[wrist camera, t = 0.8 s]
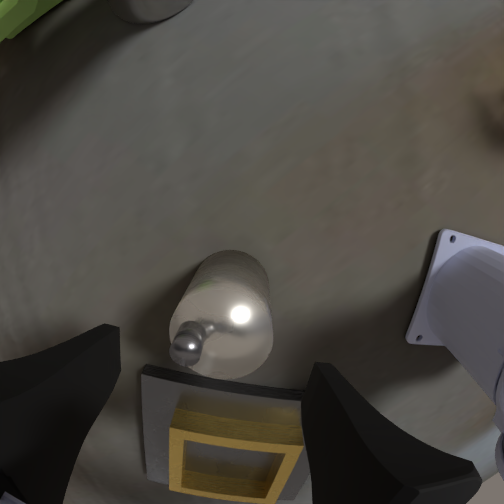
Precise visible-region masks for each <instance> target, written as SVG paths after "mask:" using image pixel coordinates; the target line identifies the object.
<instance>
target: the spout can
mask: <svg viewBox="0 0 504 504" xmlns="http://www.w3.org/2000/svg"><path fill="white" fill-rule="evenodd" d="M169 336H170V341H171V346H170V349H169V354H170V356H171V358H172V360H173V361H174V362H176V363H177V364H179V365H181V366H187V367H189V368H190V369H192V370H193V371H195V372H197V373H199V374H201V375H204V376H207V377H210V378H215V379H234V378H239V377H243V376H246V375H248V374H250V373H252V372H253V371H255V370H257V369H258V368H259V367H260V366H261V365H262V364H263V363H264V362H265V361H266V359H267V358H268V356H269V354H270V352H271V349H272V345H273V326H272V314H271V302H270V291H269V281H268V276H267V273H266V271H265V269H264V268H263V266H262V265H261V264H260V262H259V261H257V260H256V259H255V258H254V257H252V256H251V255H249V254H247V253H244V252H241V251H237V250H224V251H220V252H217V253H214V254H212V255H211V256H209V257H208V258H206V259H205V260H204V261H203V262H202V263H201V265H200V266H199V268H198V270H197V271H196V273H195V275H194V277H193V279H192V281H191V282H190V284H189V286H188V288H187V290H186V291H185V293H184V295H183V297H182V299H181V301H180V302H179V304H178V306H177V308H176V310H175V312H174V314H173V316H172V318H171V321H170V327H169Z"/></svg>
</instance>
